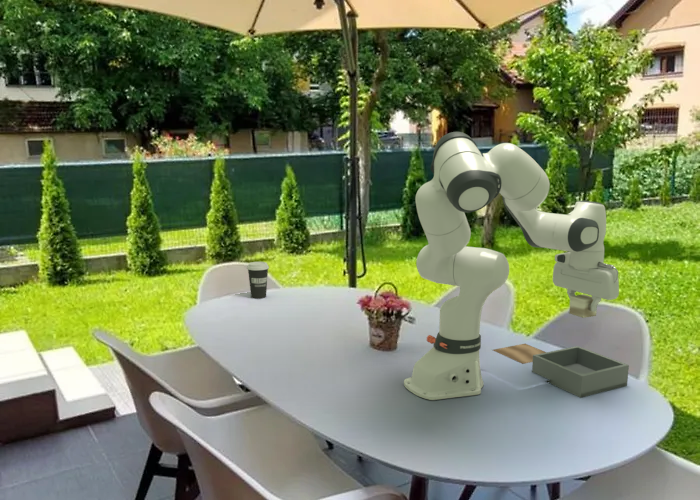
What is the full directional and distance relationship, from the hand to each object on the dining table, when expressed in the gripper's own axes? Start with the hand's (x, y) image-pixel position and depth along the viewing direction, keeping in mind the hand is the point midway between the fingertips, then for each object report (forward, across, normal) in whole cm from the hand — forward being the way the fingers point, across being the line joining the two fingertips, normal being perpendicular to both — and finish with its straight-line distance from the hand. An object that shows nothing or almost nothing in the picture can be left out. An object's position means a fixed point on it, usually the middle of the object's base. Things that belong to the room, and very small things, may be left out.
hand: (582, 308), depth 168 cm
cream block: (+2, 0, 0) cm, 2 cm away
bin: (+21, 0, 0) cm, 21 cm away
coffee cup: (+21, +132, +51) cm, 143 cm away
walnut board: (+21, +22, 0) cm, 30 cm away
